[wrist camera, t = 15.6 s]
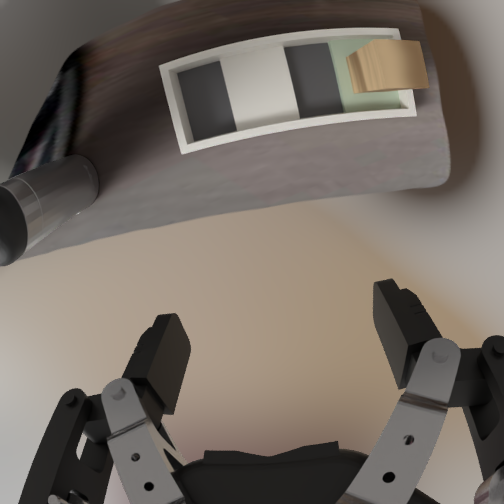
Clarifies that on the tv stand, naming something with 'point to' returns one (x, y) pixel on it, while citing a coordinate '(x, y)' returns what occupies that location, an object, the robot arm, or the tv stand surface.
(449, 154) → the tv stand surface
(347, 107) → the box
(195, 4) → the tv stand surface
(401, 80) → the oak post
